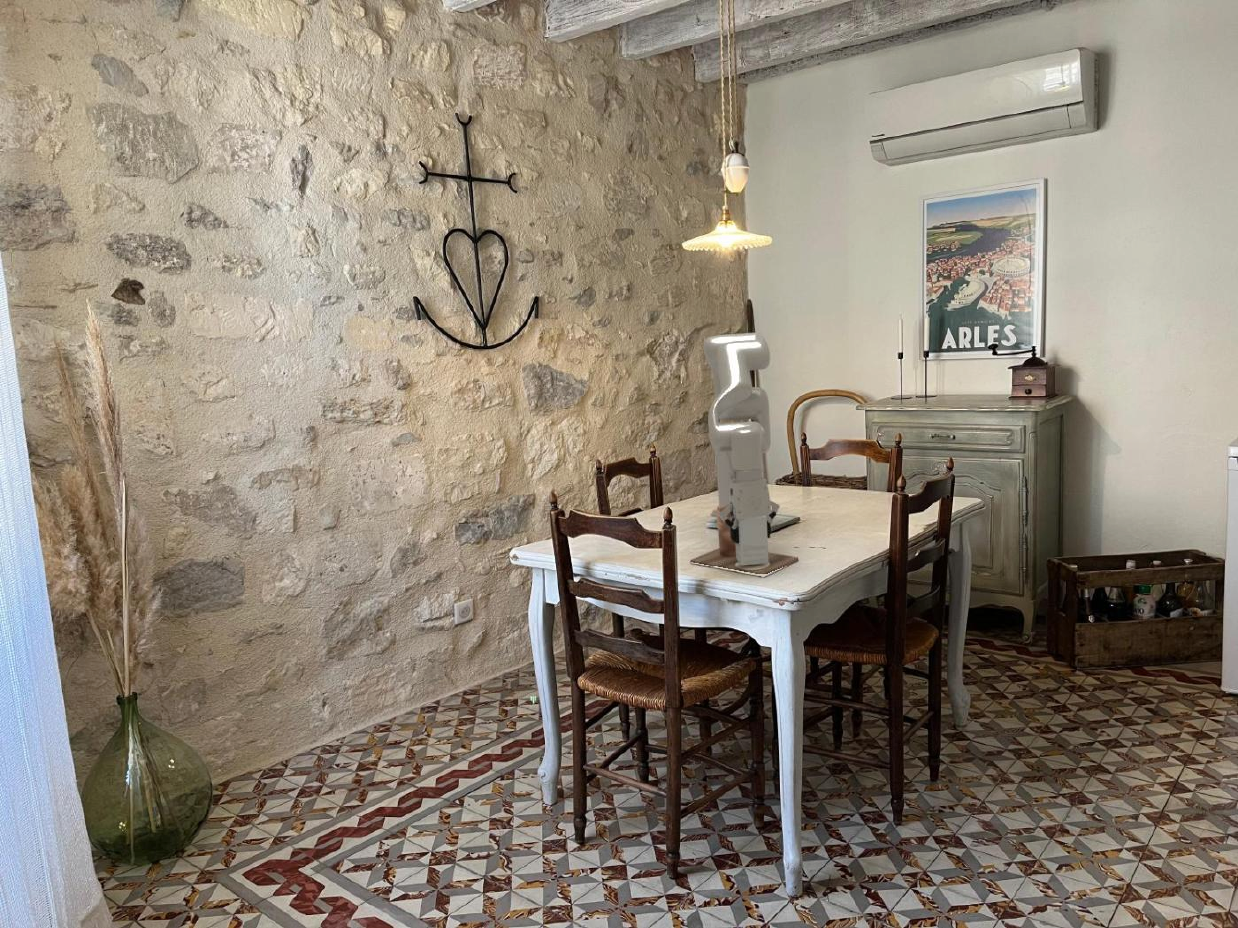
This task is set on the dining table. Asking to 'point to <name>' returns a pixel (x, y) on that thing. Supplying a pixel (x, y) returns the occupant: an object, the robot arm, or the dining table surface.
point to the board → (732, 561)
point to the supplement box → (752, 541)
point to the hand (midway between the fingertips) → (751, 539)
